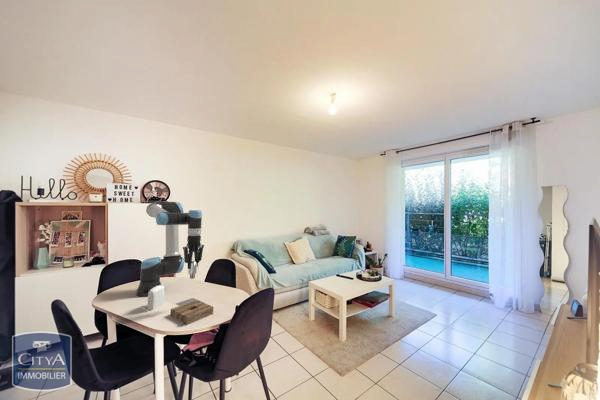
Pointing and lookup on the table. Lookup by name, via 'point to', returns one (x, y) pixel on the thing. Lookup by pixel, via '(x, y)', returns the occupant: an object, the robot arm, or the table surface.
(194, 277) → the pin
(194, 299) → the mat
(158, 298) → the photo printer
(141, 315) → the table surface
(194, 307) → the socket block
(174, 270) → the robot arm
